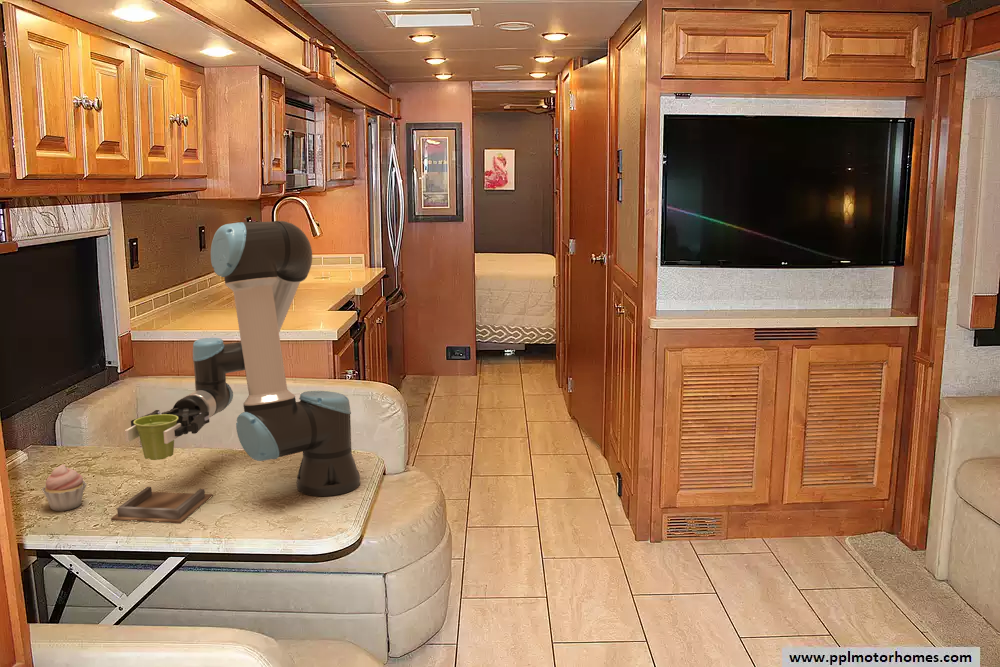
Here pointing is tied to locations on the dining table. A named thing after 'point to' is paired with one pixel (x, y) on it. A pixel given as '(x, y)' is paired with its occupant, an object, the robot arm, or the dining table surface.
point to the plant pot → (155, 435)
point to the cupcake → (64, 489)
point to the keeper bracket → (161, 506)
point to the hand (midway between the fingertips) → (146, 437)
